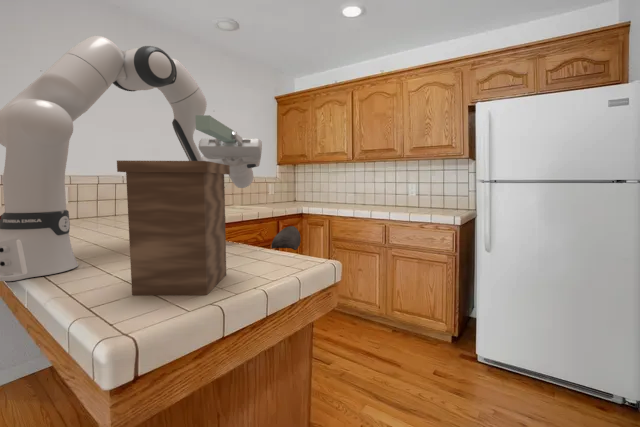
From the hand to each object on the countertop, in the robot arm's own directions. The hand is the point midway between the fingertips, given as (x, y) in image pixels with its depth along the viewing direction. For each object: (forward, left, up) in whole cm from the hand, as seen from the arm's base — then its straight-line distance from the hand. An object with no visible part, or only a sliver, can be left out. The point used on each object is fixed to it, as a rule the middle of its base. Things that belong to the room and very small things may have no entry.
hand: (225, 133), depth 104 cm
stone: (+19, 0, -37) cm, 41 cm away
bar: (-1, -9, -2) cm, 9 cm away
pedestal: (-3, -37, -36) cm, 52 cm away
